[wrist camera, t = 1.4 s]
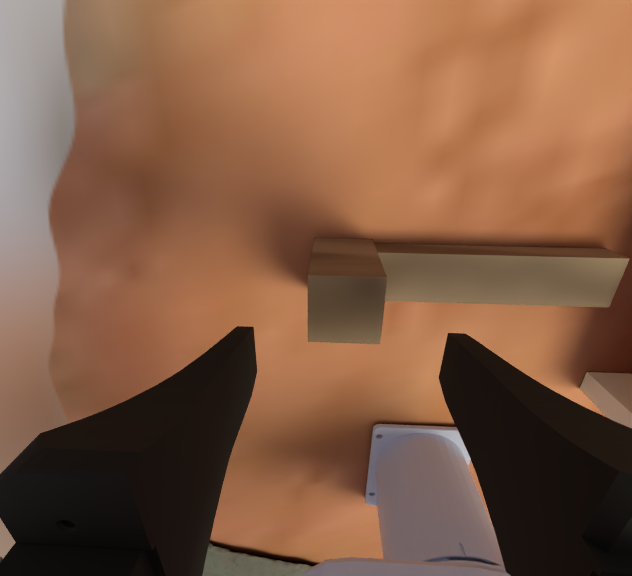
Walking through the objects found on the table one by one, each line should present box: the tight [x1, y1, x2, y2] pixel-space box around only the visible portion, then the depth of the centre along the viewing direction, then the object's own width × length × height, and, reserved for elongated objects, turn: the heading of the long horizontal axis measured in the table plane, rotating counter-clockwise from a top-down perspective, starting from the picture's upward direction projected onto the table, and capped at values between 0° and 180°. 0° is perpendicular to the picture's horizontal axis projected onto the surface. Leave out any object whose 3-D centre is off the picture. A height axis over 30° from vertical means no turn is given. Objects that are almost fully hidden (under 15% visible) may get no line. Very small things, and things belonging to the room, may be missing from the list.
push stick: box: [308, 238, 630, 344], centre depth 18 cm, size 4×17×6 cm, turn 89°
